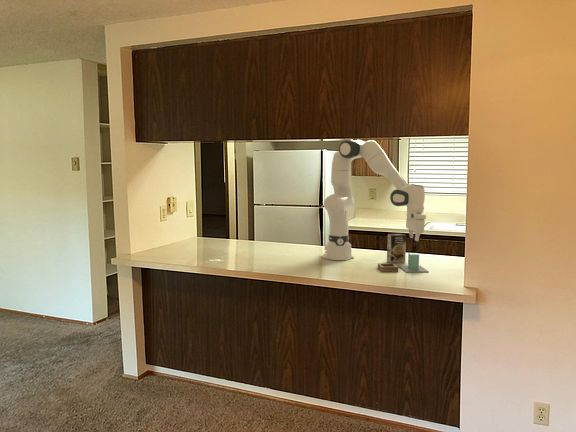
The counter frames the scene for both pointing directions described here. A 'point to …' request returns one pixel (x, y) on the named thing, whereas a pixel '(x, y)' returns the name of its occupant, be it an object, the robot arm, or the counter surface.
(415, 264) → the teal block
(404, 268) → the slate mat
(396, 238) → the coffee box
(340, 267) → the counter surface
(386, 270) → the walnut collar
